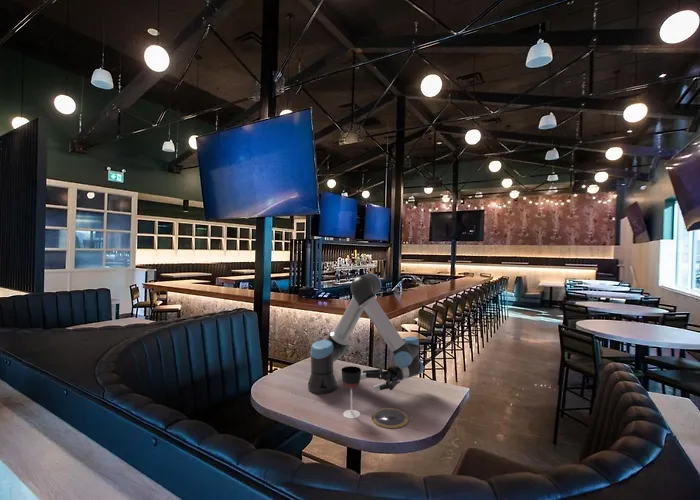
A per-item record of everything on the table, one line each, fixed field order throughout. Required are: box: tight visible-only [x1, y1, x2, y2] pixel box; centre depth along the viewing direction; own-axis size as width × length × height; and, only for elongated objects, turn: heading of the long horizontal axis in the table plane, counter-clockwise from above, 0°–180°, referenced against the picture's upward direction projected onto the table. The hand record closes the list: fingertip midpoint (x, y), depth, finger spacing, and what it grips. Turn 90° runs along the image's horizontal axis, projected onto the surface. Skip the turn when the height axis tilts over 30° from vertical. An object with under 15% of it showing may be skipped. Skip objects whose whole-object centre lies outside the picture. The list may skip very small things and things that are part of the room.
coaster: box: [371, 407, 410, 429], centre depth 150 cm, size 16×16×1 cm
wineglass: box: [341, 365, 362, 419], centre depth 153 cm, size 8×9×20 cm
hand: (363, 384), depth 157 cm, fingers open, 13 cm apart
